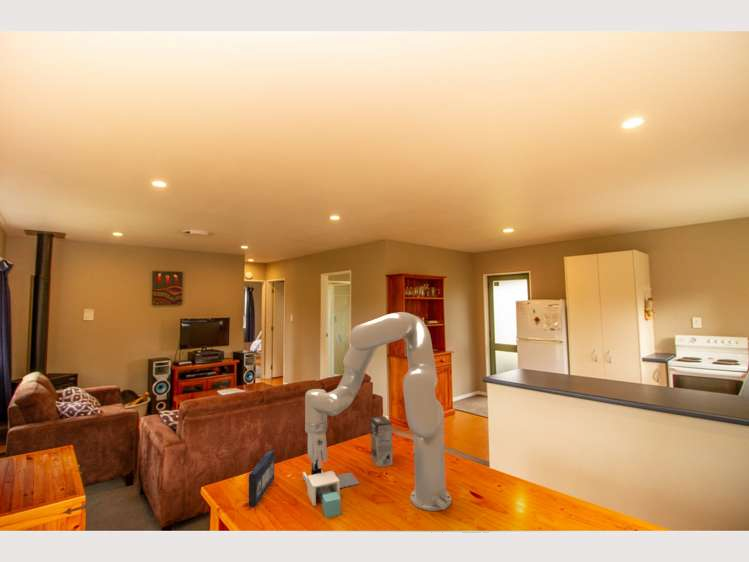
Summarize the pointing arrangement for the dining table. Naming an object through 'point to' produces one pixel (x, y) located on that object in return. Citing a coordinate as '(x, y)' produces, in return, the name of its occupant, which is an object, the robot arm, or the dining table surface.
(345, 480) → the mat
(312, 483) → the white box
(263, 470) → the vhs cassette tape
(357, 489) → the dining table surface
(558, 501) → the dining table surface
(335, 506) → the block
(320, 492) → the rod
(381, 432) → the coffee box
